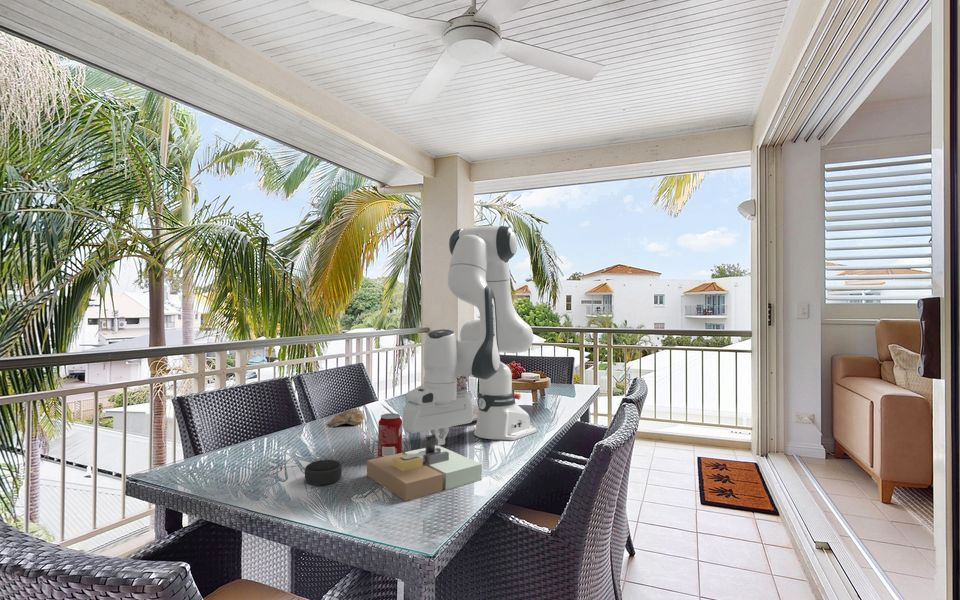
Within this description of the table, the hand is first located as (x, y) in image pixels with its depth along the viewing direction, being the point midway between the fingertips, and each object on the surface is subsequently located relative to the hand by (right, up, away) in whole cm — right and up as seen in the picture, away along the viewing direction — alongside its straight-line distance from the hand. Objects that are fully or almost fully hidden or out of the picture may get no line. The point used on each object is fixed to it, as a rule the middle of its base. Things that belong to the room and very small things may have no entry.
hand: (439, 444), depth 128 cm
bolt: (-5, -3, -3) cm, 7 cm away
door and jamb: (-5, -8, -3) cm, 10 cm away
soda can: (-15, -8, +13) cm, 22 cm away
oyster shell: (-38, -8, +50) cm, 63 cm away
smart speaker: (-29, -8, -5) cm, 30 cm away
